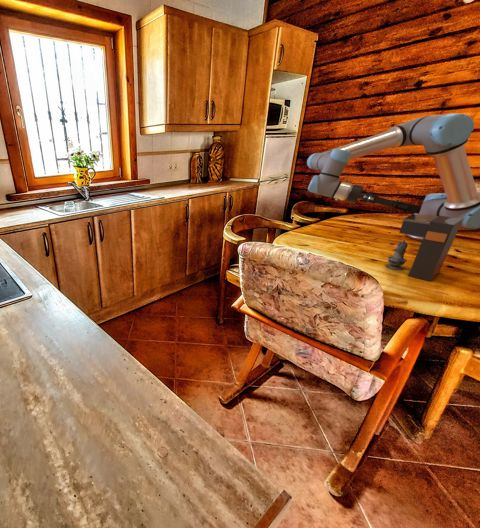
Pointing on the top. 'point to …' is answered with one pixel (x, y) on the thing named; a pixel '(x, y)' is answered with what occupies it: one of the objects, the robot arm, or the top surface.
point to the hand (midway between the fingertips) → (417, 210)
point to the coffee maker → (430, 242)
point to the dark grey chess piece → (398, 256)
